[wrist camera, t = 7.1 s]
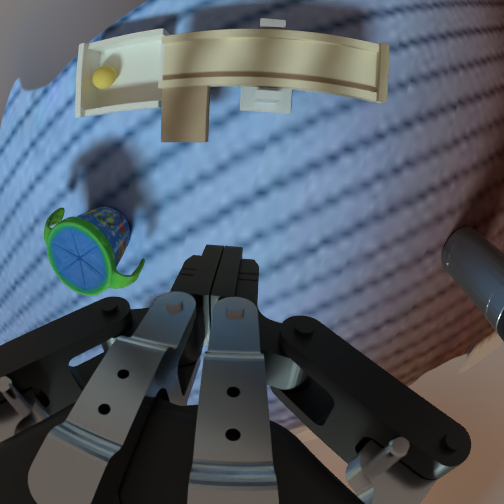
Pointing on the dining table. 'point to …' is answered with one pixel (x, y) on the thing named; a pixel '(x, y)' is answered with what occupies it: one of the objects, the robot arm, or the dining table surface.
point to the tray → (121, 73)
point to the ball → (104, 77)
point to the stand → (264, 96)
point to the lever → (262, 70)
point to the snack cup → (89, 249)
